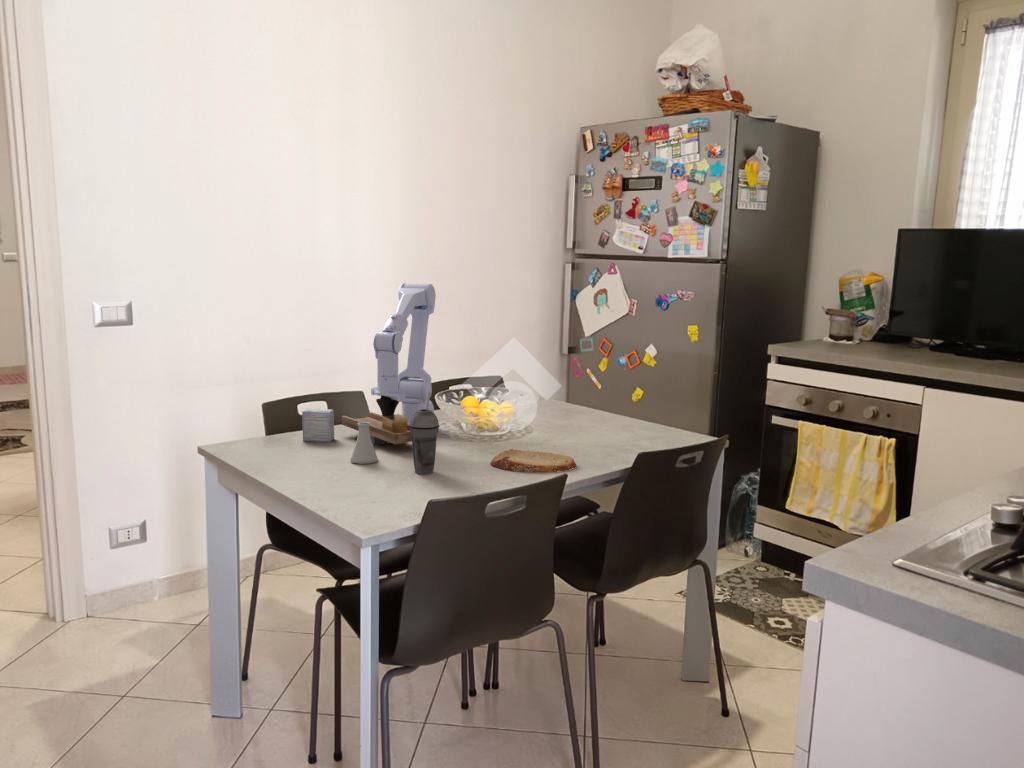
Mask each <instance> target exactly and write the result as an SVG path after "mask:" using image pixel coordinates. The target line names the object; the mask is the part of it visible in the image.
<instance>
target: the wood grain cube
mask: <svg viewBox="0 0 1024 768" xmlns="http://www.w3.org/2000/svg"><path fill="white" fill-rule="evenodd" d="M382 429H385V430H388V431H391V432H393V433H396V434H397V433H403V432H407V429H408V418H406V417H404V416H402V414H399V413H394V415H387V416H383V421H382Z"/></svg>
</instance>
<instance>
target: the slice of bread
mask: <svg viewBox="0 0 1024 768" xmlns="http://www.w3.org/2000/svg"><path fill="white" fill-rule="evenodd" d="M490 466H491V467H493V468H497V469H501V470H504V471H508V472H516V473H517V472H518V473H532V474H534V473H535V474H536V473H537V474H538V473H545V474H546V473H558V472H557V471H563V472H566V471H565V470H569V469H572V468H575V467H576V466H577V464H576V461H575V460H574V459H573V458H572V457H571V456H568V455H563V454H559V453H557V454H555V453H553V452H545V451H544V452H543V451H542V452H541V451H531V450H530V451H529V450H521V449H514V448H511V449H509V450H505V451H502V452H500V453H499V454H497V455H495V456H494V457H493V458H492V460H491V461H490ZM577 467H578V466H577ZM577 467H576V468H577ZM576 468H575V469H576ZM572 470H573V469H572ZM569 471H570V470H569Z"/></svg>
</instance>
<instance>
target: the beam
mask: <svg viewBox="0 0 1024 768" xmlns="http://www.w3.org/2000/svg"><path fill="white" fill-rule="evenodd" d="M382 421H383V416H382V414H378V413H375V412H373V411H369V412H368V416H366V417H361V418H353V417H350V416H347V415H342V416H341V426H344V427H347V428H350V429H352V430H355V431H358V432H359V426H358V423H359V422H370V426H369V433H370V435H371V436H374V437H377V438H379V439H382V440H385V441H388V442H390V443H391V444H393V445H399V444H405V443H410V442H411V443H412V436H411V432H410V427H409V425H410V424H408V429H407V432H403V433H397V434H396V433H393V432H391V431H388V430H385V429H382ZM390 443H389V444H390Z"/></svg>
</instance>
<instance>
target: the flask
mask: <svg viewBox="0 0 1024 768" xmlns="http://www.w3.org/2000/svg"><path fill="white" fill-rule="evenodd" d="M358 426H359V431H358V433H357V438H356V442H355V445H354V448H353V451H352V453H351V457H350V462H351V463H352V464H361V465H365V464H375V463H377V462H378V461H379V459H378V455H377V454H376V453H377V452H376V451H375V448H374V445H373V444H372V441H371V438H370V433H369V426H370V422H359V423H358Z"/></svg>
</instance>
